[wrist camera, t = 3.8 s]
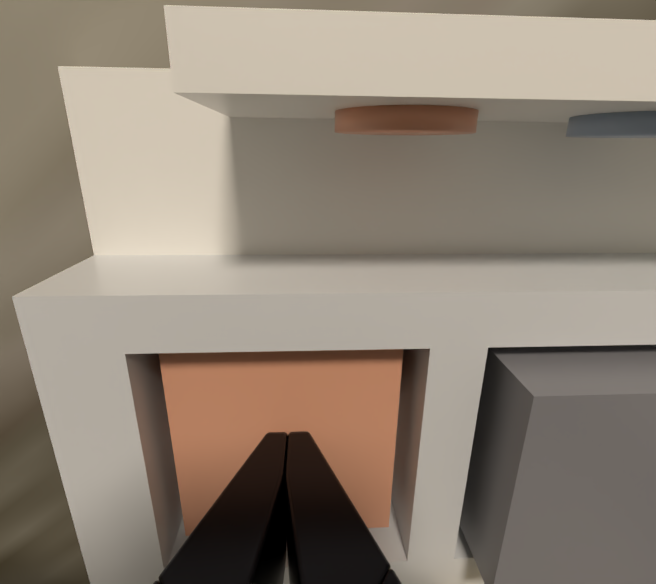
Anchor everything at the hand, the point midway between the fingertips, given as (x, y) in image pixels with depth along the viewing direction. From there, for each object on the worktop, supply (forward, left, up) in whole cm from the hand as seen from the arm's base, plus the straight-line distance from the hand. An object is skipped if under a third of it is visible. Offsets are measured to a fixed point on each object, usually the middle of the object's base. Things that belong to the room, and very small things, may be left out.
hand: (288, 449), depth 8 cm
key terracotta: (0, 0, -2) cm, 2 cm away
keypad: (-1, -6, -3) cm, 7 cm away
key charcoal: (0, -6, 0) cm, 6 cm away
